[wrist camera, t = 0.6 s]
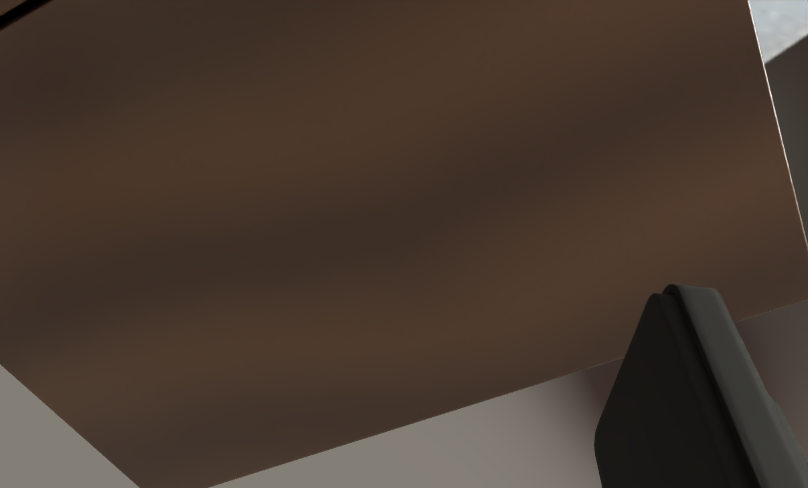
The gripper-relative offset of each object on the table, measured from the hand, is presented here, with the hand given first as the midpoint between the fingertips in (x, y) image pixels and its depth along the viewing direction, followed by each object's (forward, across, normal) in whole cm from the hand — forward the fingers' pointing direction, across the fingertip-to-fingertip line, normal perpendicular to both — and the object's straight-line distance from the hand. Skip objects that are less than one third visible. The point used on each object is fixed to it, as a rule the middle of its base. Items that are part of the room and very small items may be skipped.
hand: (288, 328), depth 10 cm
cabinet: (+35, +1, +6) cm, 36 cm away
